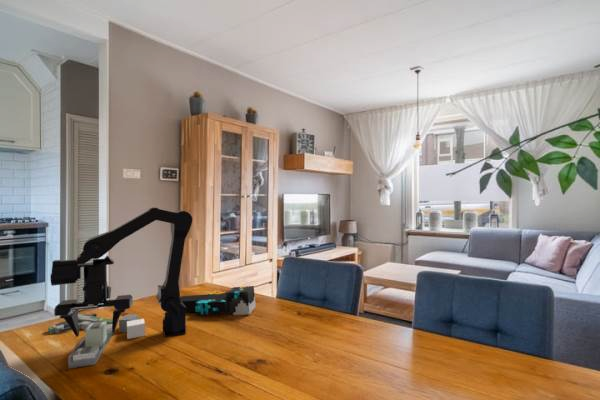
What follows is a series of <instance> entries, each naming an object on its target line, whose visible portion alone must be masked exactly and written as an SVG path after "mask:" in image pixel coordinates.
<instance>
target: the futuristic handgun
mask: <svg viewBox="0 0 600 400" xmlns="http://www.w3.org/2000/svg"><path fill="white" fill-rule="evenodd" d="M105 321H107V324H112V322H113V318H107V317H98V314H97V313H96V312H94V313H89V314H81V313H78V323H79V329H81V330H84V331H85V330H86V329H87V328H88V326H89V325H90V324H91V323H94V322H105ZM47 331H48V333H49V334H50V335H53V334H61V333H66V332H69V331H73V330H72V329H71V327H70V326H69V324H68V323H67V322H66V321H65V320H64V321H61V322H60V321H59V322H58V323H55V324H52V325H48V329H47Z"/></svg>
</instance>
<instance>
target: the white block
mask: <svg viewBox="0 0 600 400" xmlns="http://www.w3.org/2000/svg"><path fill="white" fill-rule="evenodd" d="M138 319H139V314H136V313H135V314H125V315H124V316H122V317H121V318H119V320H118V332H120V333H123V332H124V333H125V332H126V333H127V321H132V320H138Z"/></svg>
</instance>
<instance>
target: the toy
mask: <svg viewBox="0 0 600 400" xmlns="http://www.w3.org/2000/svg"><path fill="white" fill-rule="evenodd" d="M255 295H256V294H255V286H254V285H247V286H235V287H234V286H233V287H232V288H230V289H228V290H219V291H217V290H216V291H211V292H209V293H207V294H193V295H180V301H181V302H182V303H183V304H184V305H185V307H186V308H187V312H186V313H191V312H192V313H194V312H195V315H196V316H197V315H211V314H212V315H213V314H214V315H215V314H226V313H227V315H229V316H231V315H232V316H244V315H246V316H247V315H251V314H252V312H253V311H254V310H255V309H256V296H255Z"/></svg>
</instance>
